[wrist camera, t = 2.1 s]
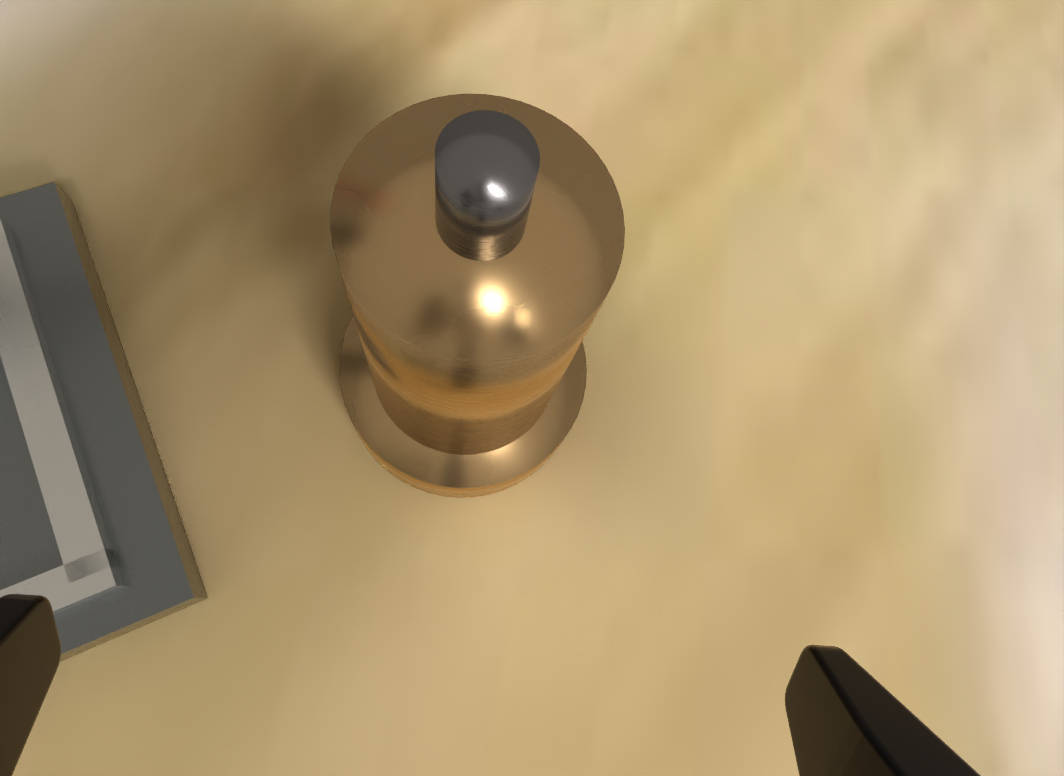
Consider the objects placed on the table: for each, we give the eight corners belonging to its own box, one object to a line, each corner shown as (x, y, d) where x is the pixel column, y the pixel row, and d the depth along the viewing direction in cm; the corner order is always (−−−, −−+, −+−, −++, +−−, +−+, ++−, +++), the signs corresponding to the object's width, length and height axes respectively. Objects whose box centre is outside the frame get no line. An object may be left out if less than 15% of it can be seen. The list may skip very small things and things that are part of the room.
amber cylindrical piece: (613, 352, 24) (782, 109, 12) (501, 542, 22) (572, 470, 10) (429, 241, 25) (419, -101, 13) (301, 418, 23) (144, 209, 11)
